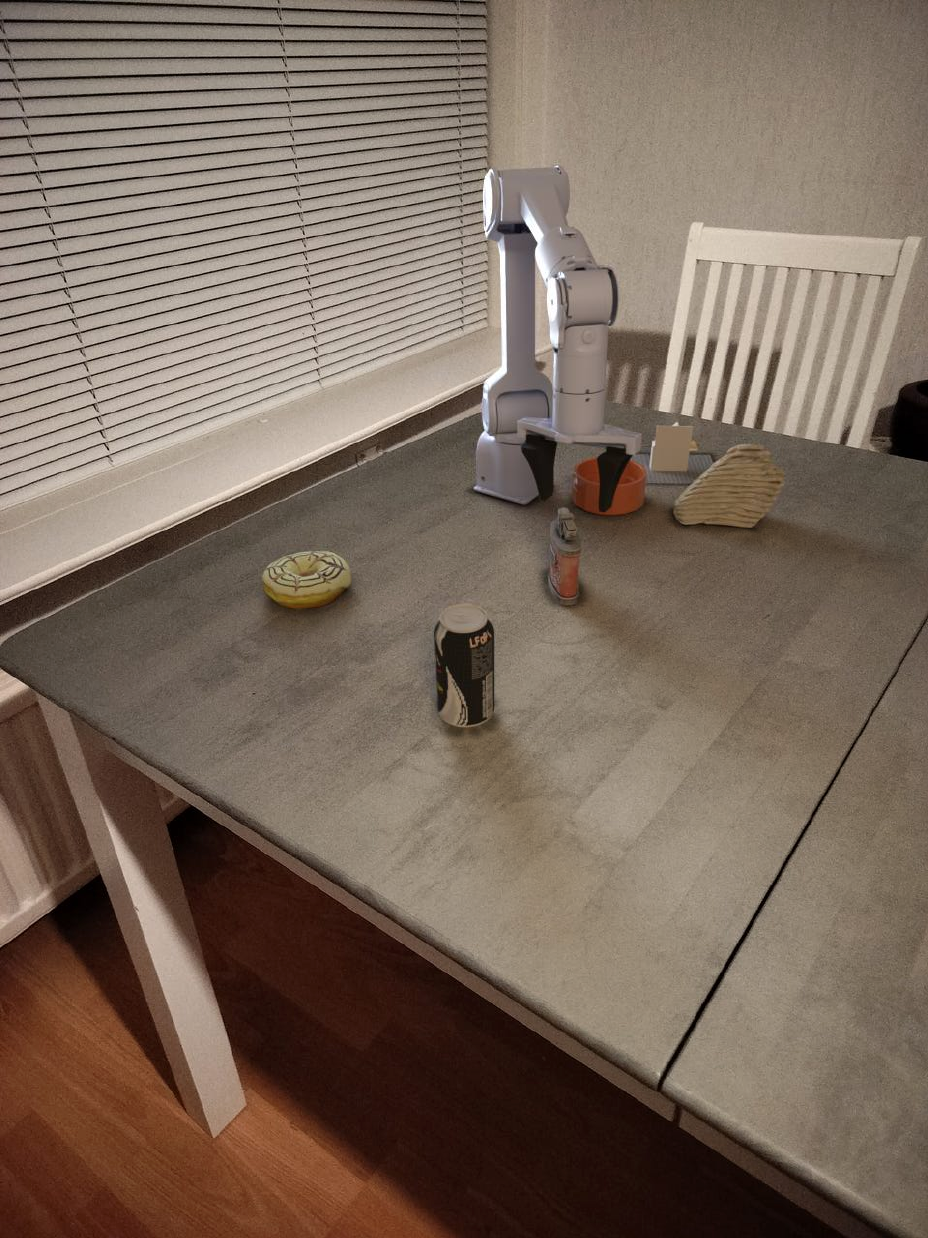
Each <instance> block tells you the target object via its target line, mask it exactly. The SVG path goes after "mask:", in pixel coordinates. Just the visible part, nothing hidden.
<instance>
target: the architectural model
mask: <svg viewBox="0 0 928 1238" xmlns="http://www.w3.org/2000/svg"><path fill="white" fill-rule="evenodd" d="M693 431H694V426H693V425H680V424H679V421H676V422H674V423H673V424H672V425H656V431H655V434H653V439H652V440H651V449H650V453H649V454H647V453H640V454H639V453H636V454H635V455H633V456H632V458H631V459H630V460H633V461H635V462H637V463H639V464H641V465H642V466H643V467H644V468H645V469H646V470H647V473H646V483H645V484H675V485H676V484H678V485H679V484H681V485H685V484H687V485H688V484H689V485H691V484H692V483H694V480H696V479H697V478H698V477H699V476H700V475H701V474H703V473H704V471H706V470H708V469H709V468H710V467H711V465H712V464H713V463H714V461H713V459H712V456H711V454H691V453H690V452H693V451H694V452H697V451H698V445H697V442H696V441H695V440H692V438H693V433H694V432H693Z"/></svg>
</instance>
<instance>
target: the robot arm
mask: <svg viewBox="0 0 928 1238" xmlns="http://www.w3.org/2000/svg"><path fill="white" fill-rule="evenodd" d="M570 184H571V183H570V179H569V175H568V172H567V171H566V169H565V168H564V166H563V165H556V166H554V167H531V168H529V167H528V168H510V169H497V168H490V169H489V170H488V172H487V173H486V175H485V177H484V182H483V190H482V198H483V199H482V200H483V203H482V204H483V205H482V206H483V229H484V231H485V238H486V239H487V240H491V241H493V242H496V243H497V248H498V254H499V267H500V268H499V270H500V275H499V276H500V317H501V318H500V326H501V328H500V329H501V367H500V368H499V369H498V370H496V371H495V372H494V373H493V374H491V375H490V376H489V377H488V378H487V379H486V380H485V381H484V384H483V386H482V399H481V420H482V425H483V429H484V430H483V432H482V433H481V434H480V436H479V438H478V440H477V444H476V449H475V467H476V468H475V469H476V472H475V473H476V485H475V486H473V490H474V492H478V493H481V494H485V495H489V496H492V497H495V498H499V499H502V500H506V501H509V502H513V503H516V504H519V505H527V504H529V503H530V502H532V501H533V500H535V499H536V498H537V497H538V498H539V501H540V502H541V501H542V502H546V501H547V500H548V499H550V498H551V497H553V494H554V484H555V482H554V481H555V480H554V479H555V478H554V477H555V476H554V475H555V474H554V473H555V472H554V470H555V469H554V468H555V459H556V453H557V447H558V443H561V444H567V445H569V444H573V445H579V446H586V447H592V448H598V449H604V450H605V451H603V452H602V453H600V454H598V456H596V457H597V464H598V469H599V479H600V491H599V512H606V511H607V510H608V509H610V508H611V506H612V501H613V498H614V494H615V491H616V488H617V485H618V483H619V480H620V478H621V476H622V474H623V472H624V470H625V468H626V466H627V464H628V463H629V461H630V459H631V458H632V456H633V455H635V454H639V452H640V451H641V450H642V440H643V439H642V437H643V433H642V432H637V431H632V430H628V429H625V428H620V427H617V426H613V425H610V424H607V423H604V422H605V405H606V404H605V402H606V384H607V382H606V381H607V365H608V364H607V361H608V346H609V328H608V327H611V326H613V325H614V324H615V322H616V320H617V317H618V313H619V307H620V288H619V282H618V278H617V275H616V273H615V270H614V268H613V267H612V266H605V265H604V264H598V263H597V261H596V259H595V257H594V255H593V254H592V252H591V249H590V247H589V245H588V242H587V240H586V239H585V236H584V234H583V233H582V232H581V231H580V230H579V229H577V227H575V226H573V225H572V226H570V225H569V222H568V219H567V215H568V212H569V207H570V201H571V185H570ZM536 265H537V268H538V271H539V273H540V275H541V277H542V279H543V282H544V284H545V287H546V289H547V291H546V293H547V294H546V307H547V317H548V322H549V324H548V325H549V339H550V344H551V345H552V346H553V367H552V369H553V370H552V374H553V375H552V382H551V380H550V378H549V376H548V375H546V374H545V373H544V372H543V371H541V370H539V369H538V368H536Z"/></svg>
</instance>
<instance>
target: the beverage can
mask: <svg viewBox="0 0 928 1238" xmlns="http://www.w3.org/2000/svg"><path fill="white" fill-rule="evenodd" d="M433 642H434V646H433V647H434V664H435V681H436V682H435V683H436V700H437V701H436V702H437V712H438V716H439V717H440V718H441V719H442V720H443V721H444V722H445V723H447V724H449V725H451V726H453V727H458V728H473V727H478V726H480V725H483V724H484V723H486V722H487V721H489V720H490V719H491V717H492V716H493V714H494V712H495V628H494V625H493V623H492V622H491V620H489V617H488V613H487V611H486V610H485V609H484V608H482V607H480V606H479V605H475V604H472V603H457V604H453V605H450V606H448V607H446V608H444V609H443V610H441V613H440V614H439V620H438V621H437V622H436V624H435V626H434V630H433Z"/></svg>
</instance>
